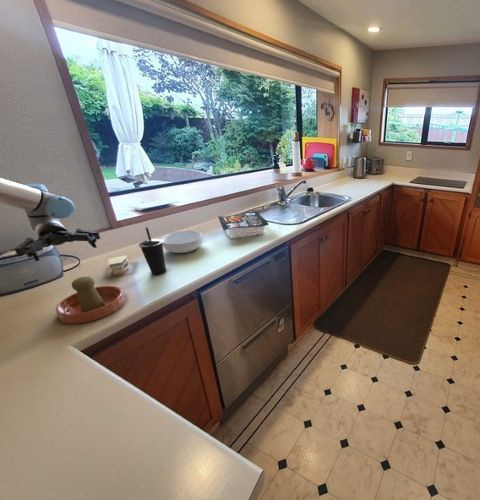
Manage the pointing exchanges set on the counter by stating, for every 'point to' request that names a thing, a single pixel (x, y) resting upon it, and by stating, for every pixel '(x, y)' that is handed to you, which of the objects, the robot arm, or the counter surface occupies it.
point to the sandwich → (118, 264)
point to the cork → (87, 294)
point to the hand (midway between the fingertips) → (66, 250)
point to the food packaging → (243, 224)
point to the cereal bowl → (182, 241)
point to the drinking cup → (154, 254)
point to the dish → (72, 311)
